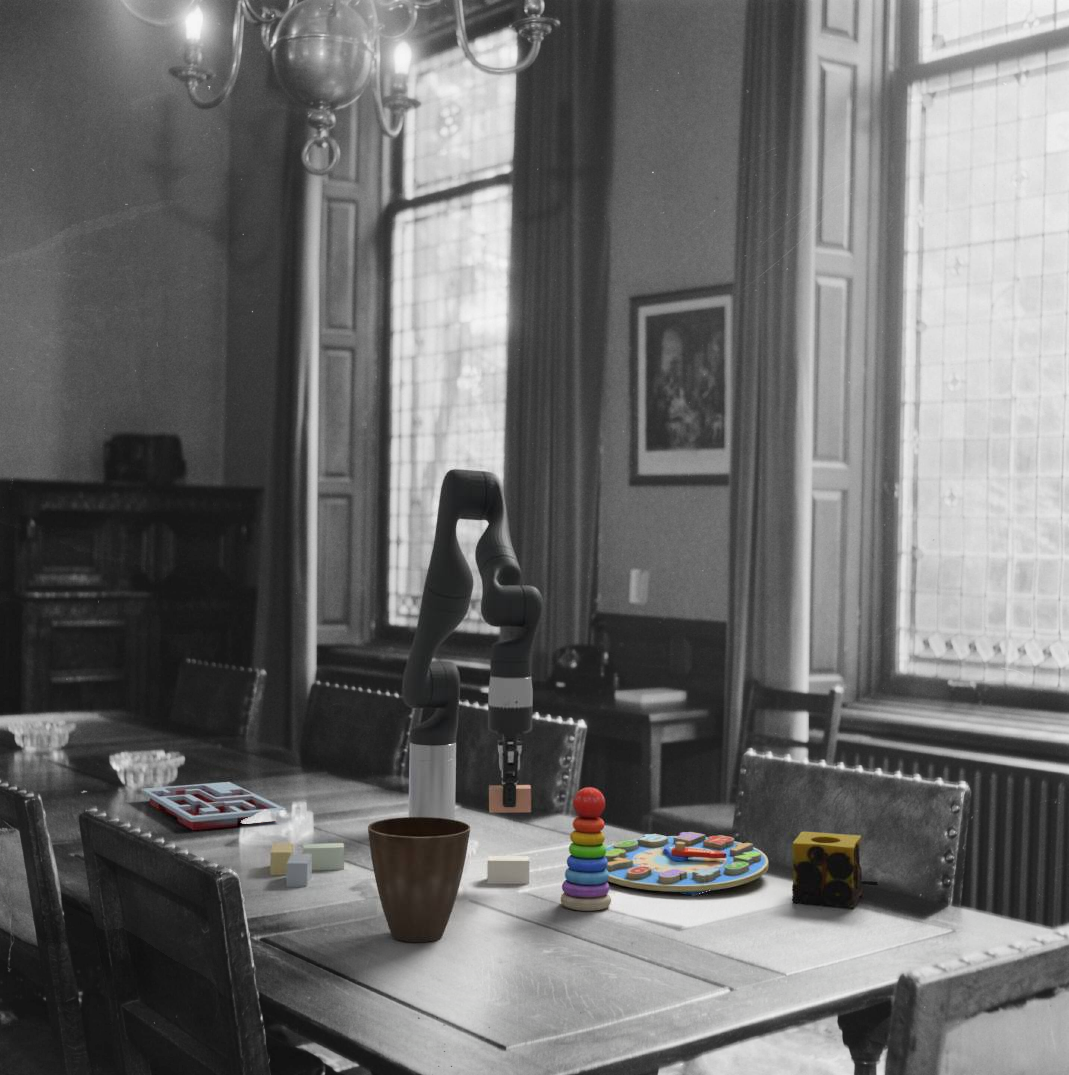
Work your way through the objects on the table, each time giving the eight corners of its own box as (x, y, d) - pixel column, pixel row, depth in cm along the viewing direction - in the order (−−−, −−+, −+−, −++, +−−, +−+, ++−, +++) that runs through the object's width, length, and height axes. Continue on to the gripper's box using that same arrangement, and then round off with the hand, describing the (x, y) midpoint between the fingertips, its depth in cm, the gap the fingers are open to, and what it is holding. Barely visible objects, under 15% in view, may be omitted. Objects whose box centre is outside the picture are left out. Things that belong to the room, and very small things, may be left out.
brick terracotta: (489, 808, 242) (489, 785, 242) (530, 808, 242) (530, 785, 242) (489, 812, 238) (489, 789, 238) (530, 812, 239) (530, 788, 239)
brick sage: (302, 866, 249) (303, 844, 249) (342, 865, 250) (343, 843, 250) (303, 871, 245) (303, 848, 245) (343, 870, 247) (344, 847, 247)
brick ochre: (270, 876, 242) (270, 852, 242) (272, 866, 249) (273, 843, 249) (290, 875, 242) (290, 852, 242) (292, 866, 249) (292, 843, 249)
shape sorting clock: (554, 876, 246) (555, 841, 246) (662, 849, 268) (663, 817, 268) (698, 909, 225) (698, 871, 225) (802, 877, 247) (802, 843, 247)
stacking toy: (606, 914, 220) (608, 793, 220) (556, 910, 222) (558, 791, 222) (614, 901, 228) (616, 785, 228) (565, 898, 229) (567, 782, 229)
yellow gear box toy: (862, 895, 235) (863, 835, 235) (855, 910, 225) (856, 847, 225) (800, 889, 238) (801, 830, 238) (791, 904, 228) (791, 842, 228)
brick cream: (487, 879, 242) (487, 856, 242) (528, 879, 242) (528, 856, 242) (487, 884, 238) (487, 860, 238) (529, 884, 239) (529, 860, 239)
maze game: (286, 825, 285) (286, 809, 285) (190, 834, 275) (191, 818, 275) (228, 796, 315) (229, 781, 315) (140, 803, 305) (140, 788, 305)
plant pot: (374, 920, 214) (375, 815, 214) (472, 923, 214) (474, 817, 214) (358, 949, 199) (360, 835, 199) (464, 952, 199) (466, 838, 199)
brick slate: (286, 887, 234) (286, 863, 234) (291, 877, 241) (291, 853, 241) (307, 887, 234) (307, 863, 234) (311, 877, 241) (312, 853, 241)
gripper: (534, 708, 233) (532, 813, 233) (530, 698, 247) (529, 797, 247) (488, 707, 233) (487, 812, 233) (487, 698, 247) (486, 797, 247)
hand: (508, 804), depth 240 cm, fingers closed on brick terracotta, 3 cm apart
